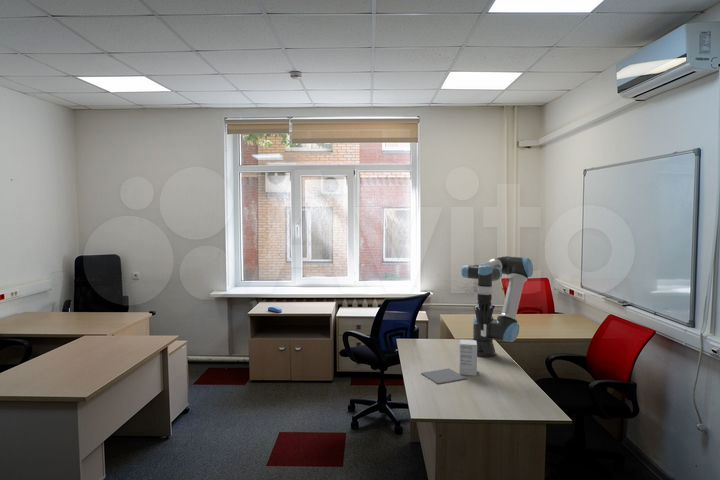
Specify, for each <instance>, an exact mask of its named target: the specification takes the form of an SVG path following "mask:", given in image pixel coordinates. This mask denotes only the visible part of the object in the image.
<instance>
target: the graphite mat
mask: <svg viewBox="0 0 720 480" xmlns="http://www.w3.org/2000/svg"><path fill="white" fill-rule="evenodd" d="M420 374H421V375H422V376H424V378H427V379H429V380H430V381H432V382H433V383H435V384H437V385H440V384H447V383H452V382H458V381H462V380H463V381H464V380H467V377H466V376H464V375H460V374H459V372H457V371H455V370H453V369H451V368H443V369H437V370H436V369H435V370H429V371H424V372H420Z"/></svg>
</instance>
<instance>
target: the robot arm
mask: <svg viewBox="0 0 720 480" xmlns="http://www.w3.org/2000/svg"><path fill="white" fill-rule="evenodd" d="M533 273H534V265H533V261H532V260H531V259H530V258H529V257H523V256H522V257H521V256H520V257H518V256H501V257H495V258H492V259H490V260H489V261H486V262H482V263H477V264H473V265H470V264H467V265H466V264H465V265H464V264H463V266H462V268H461V276H462V277H463V279H464V278H465V279H472V280H473V279H474V280H477V298H476V299H477V304H476V306H475V305H474V306H473V309H474V312H475V317H474V319H473V322H472V323H473V327H472V329H473V331H472V332H473V333H472V337H473V338H472V339H473V340H475V341H476V342H477V357H482V358H485V357H487V358H489V357H493V356H495V355H496V349H495V346H494V341H493V339H494V340H499V341H503V342H508V343H509V342H510V343H513V342H515V341H516V340H517V338H518V336H519V333H520V325H519V323H518V320H517V318H516V317H517V313H518V309H519V305H520V301H521V297H522V292H523V290H524V289H523V288H524V284H525V282H527V281H528V278H532V276H533ZM503 275H507V276H508V278H509V280H508V285H507V289H506V292H505V293H506V294H505V296H504V301H503V305H502V308H501V314H499V315H497V317H496V319H494V316H493V313H494V309H495V305H493V304H492V301H493V300H492V299H493V297H492V293H493V282H496V281H498V280H500V279H501V278H502V277H503Z"/></svg>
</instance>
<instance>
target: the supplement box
mask: <svg viewBox="0 0 720 480" xmlns="http://www.w3.org/2000/svg"><path fill="white" fill-rule="evenodd" d="M458 365H459V366H458V374H460V375H462V376H464V375H465V376H477V375H478V374H477V371H478V356H477V342H476V341H475V340H471V339H459V361H458Z"/></svg>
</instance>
